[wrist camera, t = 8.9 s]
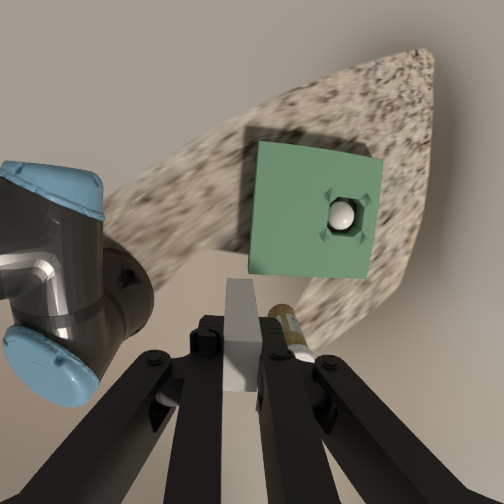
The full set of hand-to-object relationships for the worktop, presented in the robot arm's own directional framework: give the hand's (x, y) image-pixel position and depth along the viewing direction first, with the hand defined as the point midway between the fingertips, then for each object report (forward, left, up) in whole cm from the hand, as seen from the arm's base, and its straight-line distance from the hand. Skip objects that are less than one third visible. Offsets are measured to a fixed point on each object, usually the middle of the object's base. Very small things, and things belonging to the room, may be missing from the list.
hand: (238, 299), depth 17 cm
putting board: (+11, +3, -24) cm, 27 cm away
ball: (+14, +3, -22) cm, 27 cm away
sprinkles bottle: (+8, -14, -25) cm, 29 cm away
